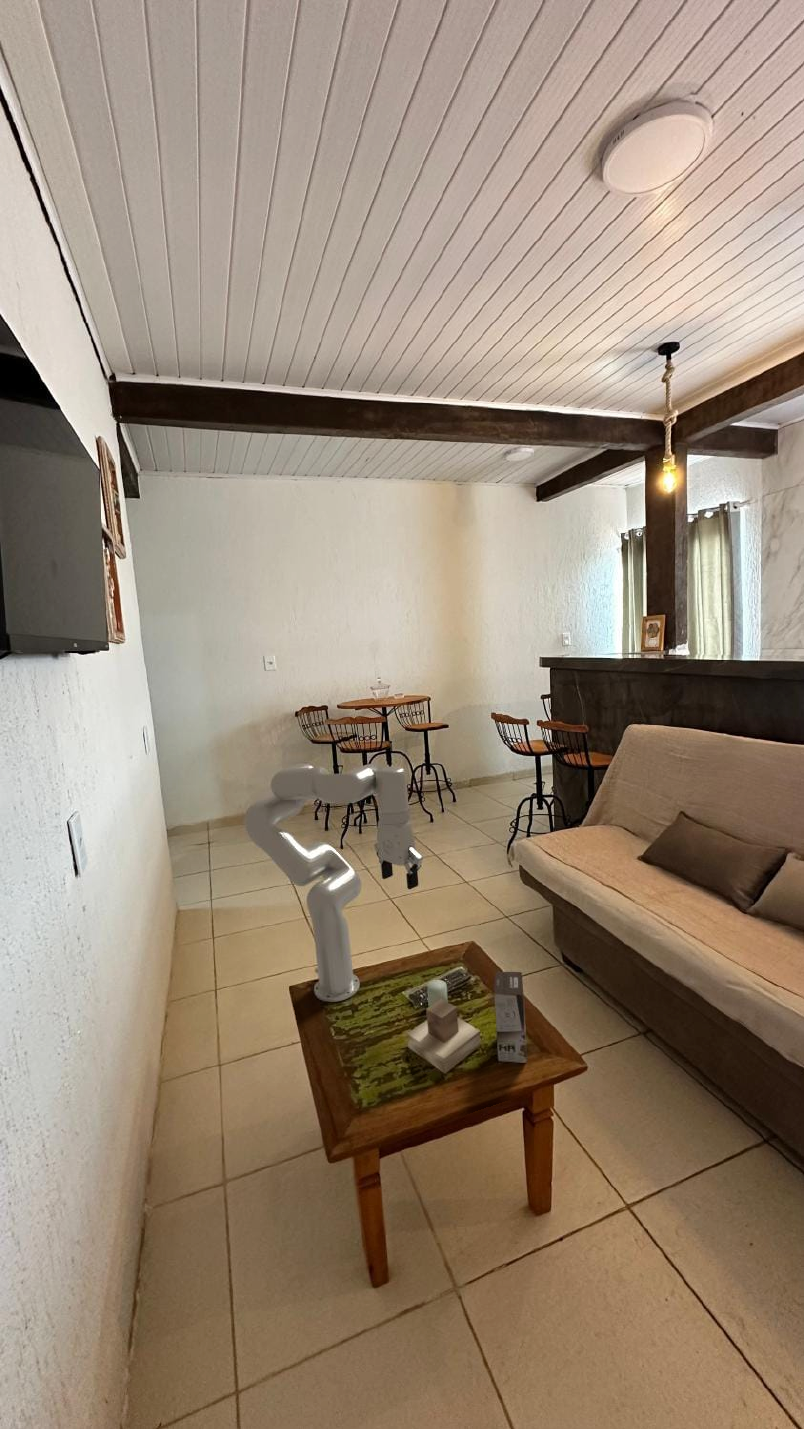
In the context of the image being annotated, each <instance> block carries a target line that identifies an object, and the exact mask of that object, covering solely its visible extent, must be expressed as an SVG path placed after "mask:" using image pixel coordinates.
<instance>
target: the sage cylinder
mask: <svg viewBox="0 0 804 1429" xmlns="http://www.w3.org/2000/svg"><path fill="white" fill-rule="evenodd" d="M447 987H448V986H447V983H446V982H445V981H444V980H441V979H433V980H431V981H429V982H428V983H427V985H426V989H427V1001H428V1007H430V1006H431V1005H433V1004H434V1003H435V1002H437V1001H438V1000H440V999H442V1000H444V1001H446V1002H448V988H447ZM448 1003H449V1002H448Z"/></svg>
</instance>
